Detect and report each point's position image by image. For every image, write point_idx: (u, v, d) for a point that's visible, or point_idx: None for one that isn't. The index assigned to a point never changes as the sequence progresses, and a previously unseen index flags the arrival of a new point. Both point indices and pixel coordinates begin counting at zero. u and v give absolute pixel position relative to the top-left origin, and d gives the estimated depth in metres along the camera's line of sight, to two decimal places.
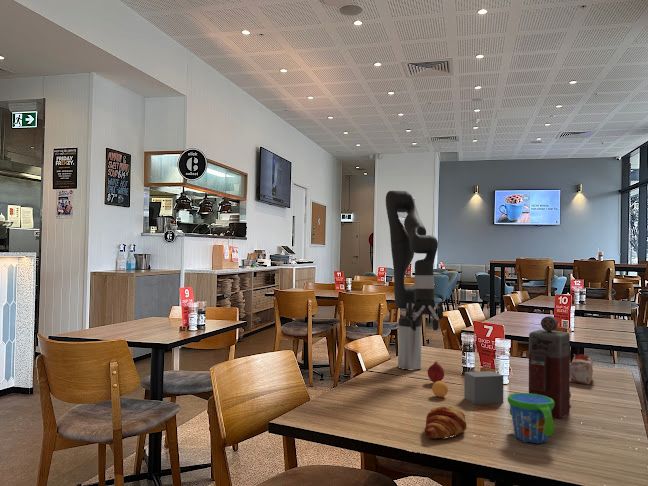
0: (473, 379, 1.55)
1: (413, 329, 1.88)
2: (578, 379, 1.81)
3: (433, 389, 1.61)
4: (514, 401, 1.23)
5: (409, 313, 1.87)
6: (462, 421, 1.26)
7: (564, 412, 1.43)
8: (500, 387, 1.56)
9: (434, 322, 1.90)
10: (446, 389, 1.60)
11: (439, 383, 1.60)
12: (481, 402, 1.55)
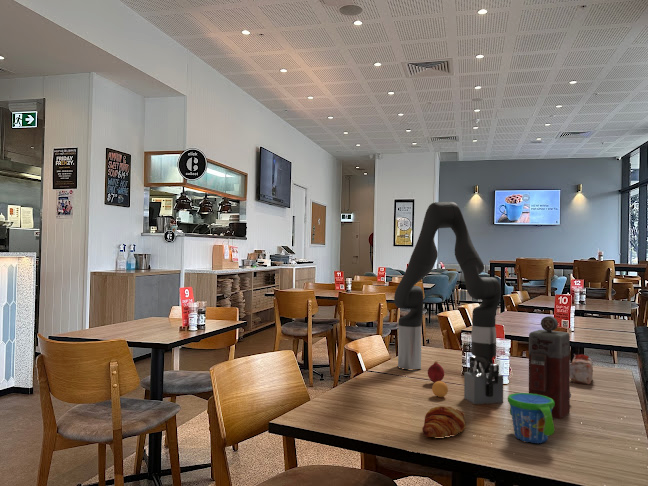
0: (472, 379, 1.55)
1: (490, 395, 1.55)
2: (578, 379, 1.81)
3: (433, 389, 1.61)
4: (514, 401, 1.23)
5: None
6: (460, 421, 1.26)
7: (564, 412, 1.43)
8: (500, 387, 1.56)
9: None
10: (446, 389, 1.60)
11: (439, 383, 1.60)
12: (481, 402, 1.55)
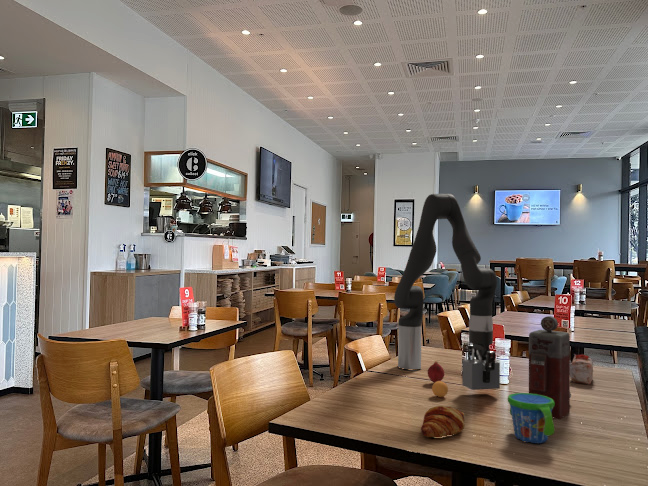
0: (470, 365, 1.61)
1: (487, 381, 1.61)
2: (579, 379, 1.81)
3: (433, 389, 1.61)
4: (514, 401, 1.23)
5: None
6: (459, 421, 1.27)
7: (564, 412, 1.43)
8: (496, 374, 1.62)
9: None
10: (446, 389, 1.60)
11: (439, 383, 1.60)
12: (479, 388, 1.61)
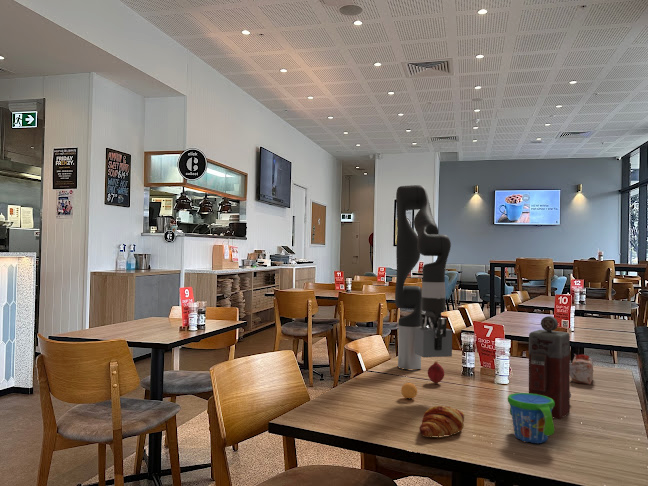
0: (422, 333, 1.58)
1: (439, 348, 1.58)
2: (579, 379, 1.81)
3: (413, 384, 1.59)
4: (514, 401, 1.23)
5: None
6: (458, 421, 1.27)
7: (564, 412, 1.43)
8: (449, 341, 1.59)
9: None
10: (411, 396, 1.57)
11: None
12: (430, 355, 1.57)
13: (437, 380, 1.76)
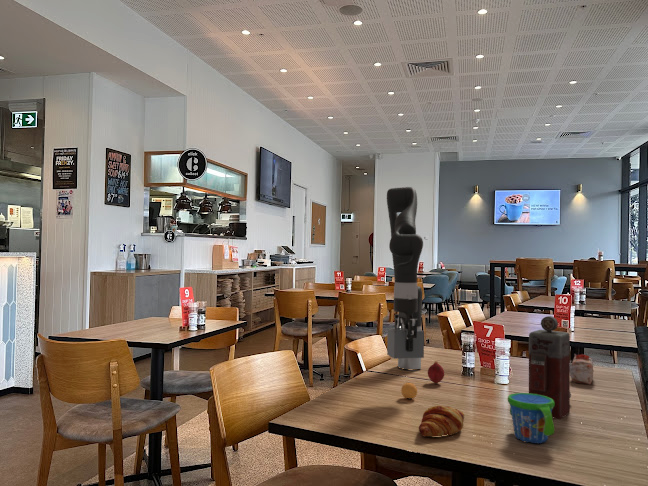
0: (393, 334, 1.56)
1: (410, 349, 1.56)
2: (579, 379, 1.81)
3: (413, 384, 1.59)
4: (514, 401, 1.23)
5: None
6: (457, 420, 1.27)
7: (564, 412, 1.43)
8: (421, 342, 1.57)
9: None
10: (411, 396, 1.57)
11: None
12: (401, 356, 1.56)
13: (437, 380, 1.76)
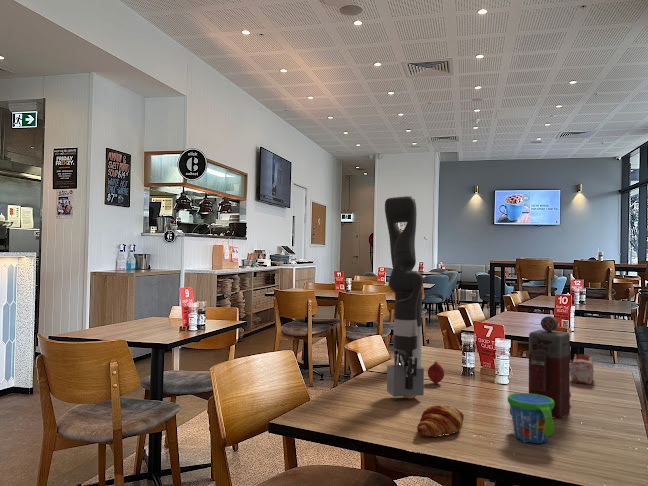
0: (392, 371, 1.56)
1: (410, 387, 1.55)
2: (579, 379, 1.81)
3: None
4: (514, 401, 1.23)
5: None
6: (456, 420, 1.27)
7: (564, 412, 1.43)
8: (420, 380, 1.57)
9: None
10: (411, 396, 1.57)
11: None
12: (401, 394, 1.55)
13: (437, 380, 1.76)
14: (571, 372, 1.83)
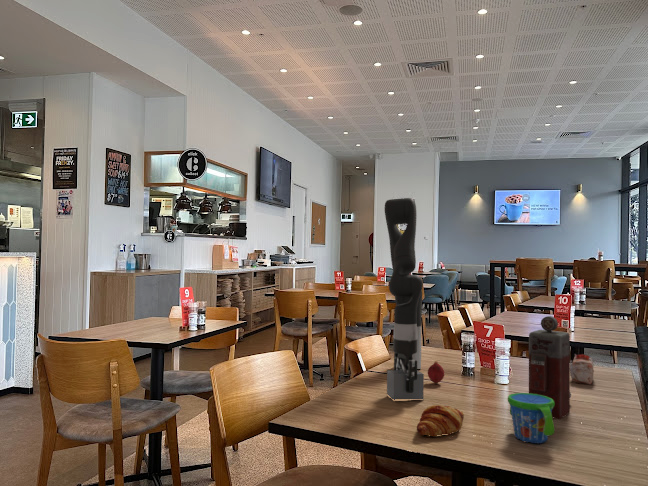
0: (392, 377, 1.56)
1: (410, 391, 1.55)
2: (580, 379, 1.81)
3: None
4: (514, 401, 1.23)
5: None
6: (456, 420, 1.27)
7: (564, 412, 1.43)
8: (420, 385, 1.57)
9: None
10: None
11: None
12: None
13: (437, 380, 1.76)
14: (571, 372, 1.83)
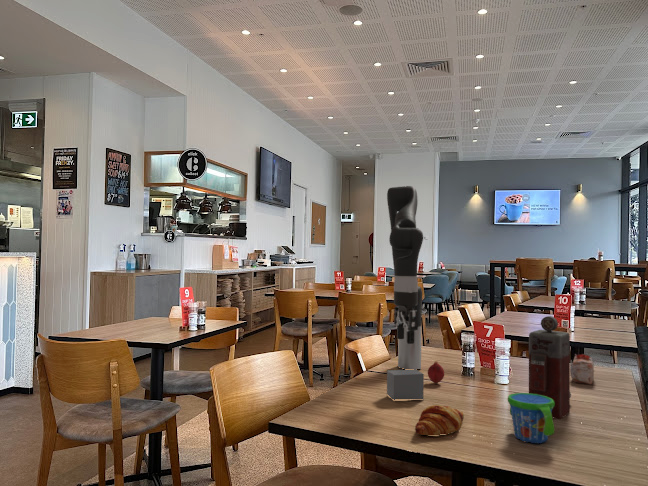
0: (392, 377, 1.56)
1: (411, 342, 1.55)
2: (580, 379, 1.81)
3: None
4: (514, 401, 1.23)
5: None
6: (454, 420, 1.27)
7: (564, 412, 1.43)
8: (420, 385, 1.57)
9: (401, 330, 1.64)
10: None
11: None
12: None
13: (437, 380, 1.76)
14: (572, 372, 1.83)
